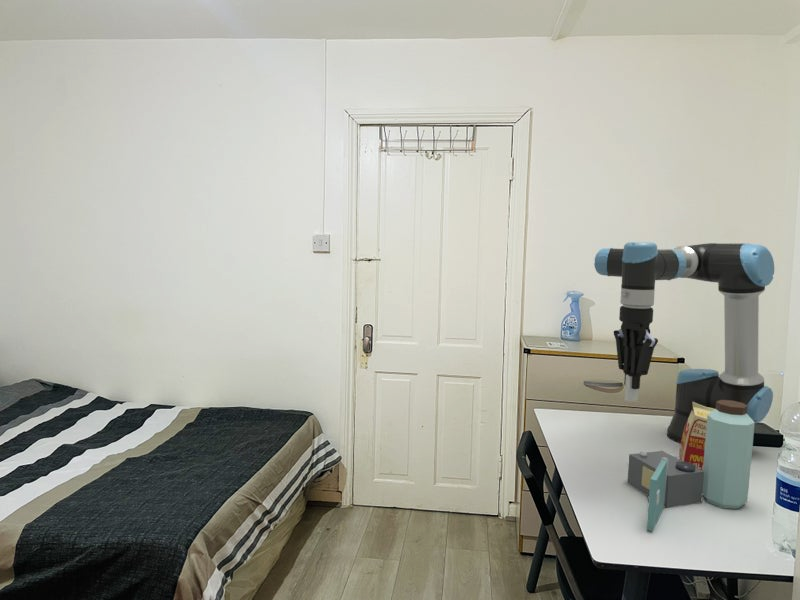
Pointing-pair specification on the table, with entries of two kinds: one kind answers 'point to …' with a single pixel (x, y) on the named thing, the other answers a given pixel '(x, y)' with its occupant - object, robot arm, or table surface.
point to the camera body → (680, 481)
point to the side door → (657, 493)
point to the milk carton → (695, 436)
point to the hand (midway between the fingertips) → (631, 400)
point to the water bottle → (728, 454)
